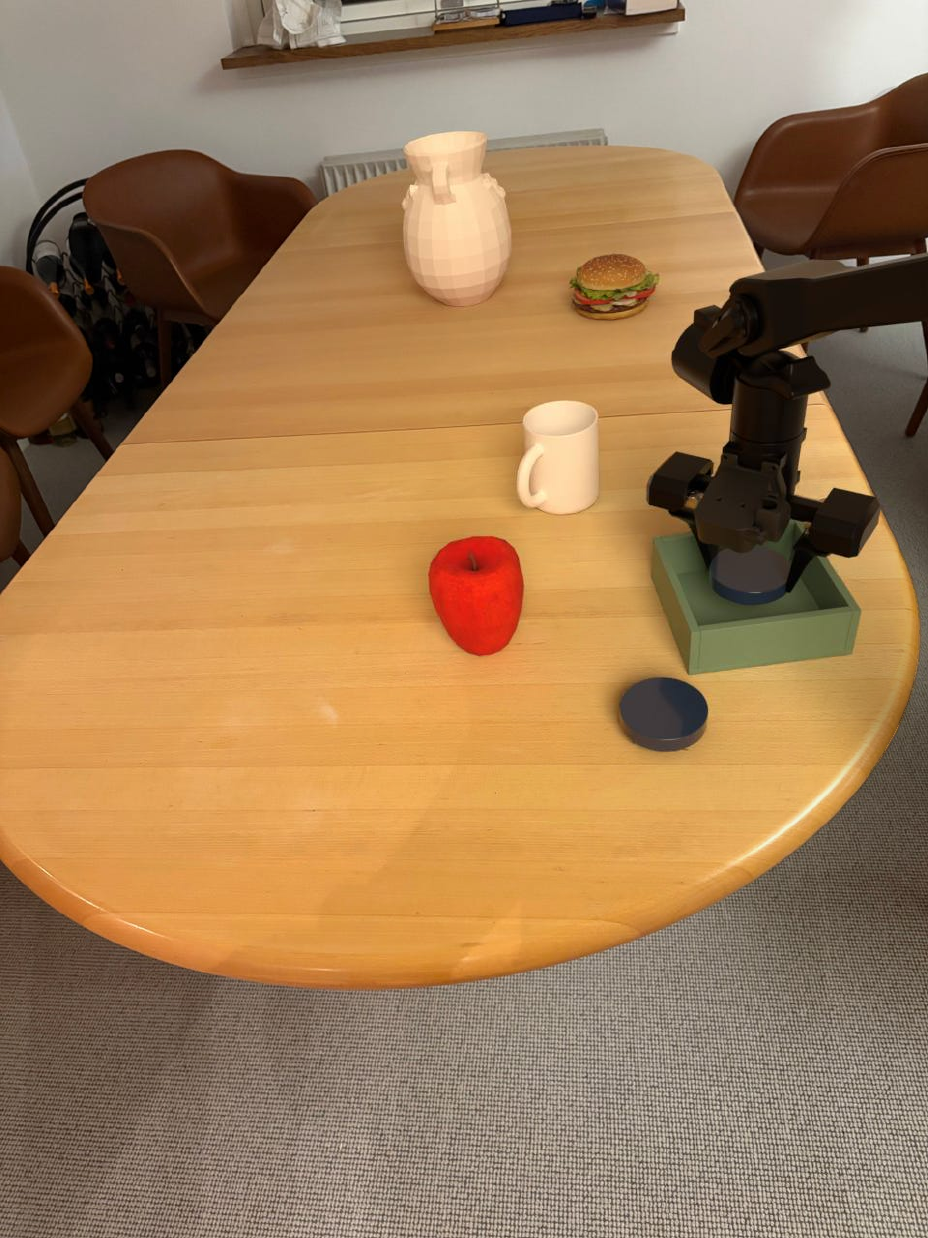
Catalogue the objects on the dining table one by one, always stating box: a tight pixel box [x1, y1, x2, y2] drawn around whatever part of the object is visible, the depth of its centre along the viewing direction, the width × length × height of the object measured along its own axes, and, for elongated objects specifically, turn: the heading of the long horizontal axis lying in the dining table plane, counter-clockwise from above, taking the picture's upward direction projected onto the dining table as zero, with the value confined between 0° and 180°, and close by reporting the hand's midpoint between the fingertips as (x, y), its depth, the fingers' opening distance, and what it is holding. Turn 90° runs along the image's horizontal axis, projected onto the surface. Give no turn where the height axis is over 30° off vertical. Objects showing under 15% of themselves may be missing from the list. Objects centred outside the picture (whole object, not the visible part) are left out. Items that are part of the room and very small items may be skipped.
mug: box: [516, 399, 601, 516], centre depth 99 cm, size 12×8×10 cm
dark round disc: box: [709, 546, 791, 605], centre depth 81 cm, size 7×7×2 cm
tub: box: [651, 519, 862, 676], centre depth 82 cm, size 15×15×5 cm
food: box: [569, 253, 660, 321], centre depth 142 cm, size 14×14×8 cm
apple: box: [427, 535, 525, 657], centre depth 82 cm, size 9×9×11 cm
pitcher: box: [401, 131, 513, 307], centre depth 148 cm, size 19×18×25 cm
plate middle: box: [618, 676, 709, 753], centre depth 74 cm, size 7×7×2 cm
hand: (749, 578), depth 81 cm, fingers closed on dark round disc, 7 cm apart
